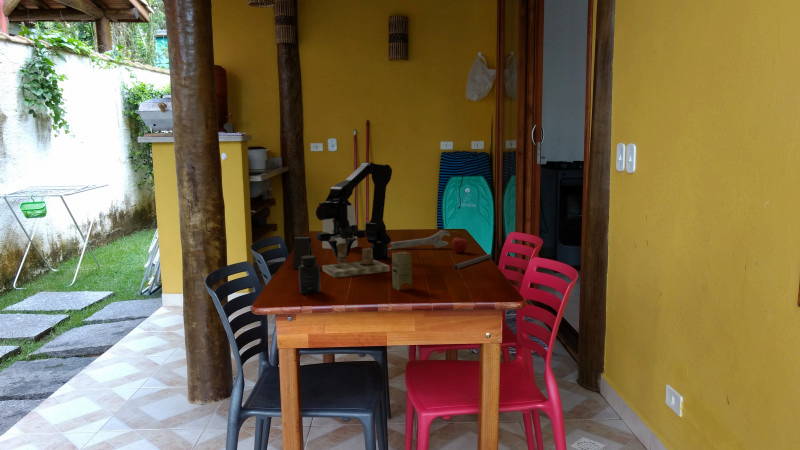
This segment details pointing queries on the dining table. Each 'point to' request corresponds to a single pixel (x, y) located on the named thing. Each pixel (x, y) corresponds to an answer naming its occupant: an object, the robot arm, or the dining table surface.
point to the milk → (329, 228)
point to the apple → (459, 244)
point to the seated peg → (367, 257)
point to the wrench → (422, 241)
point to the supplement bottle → (309, 276)
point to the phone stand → (301, 250)
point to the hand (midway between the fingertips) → (341, 256)
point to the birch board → (354, 269)
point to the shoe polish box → (402, 270)
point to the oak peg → (341, 252)
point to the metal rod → (472, 261)
